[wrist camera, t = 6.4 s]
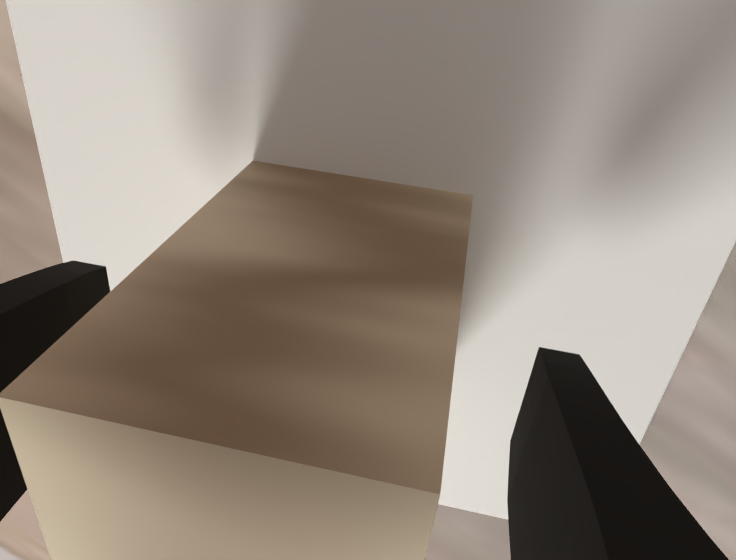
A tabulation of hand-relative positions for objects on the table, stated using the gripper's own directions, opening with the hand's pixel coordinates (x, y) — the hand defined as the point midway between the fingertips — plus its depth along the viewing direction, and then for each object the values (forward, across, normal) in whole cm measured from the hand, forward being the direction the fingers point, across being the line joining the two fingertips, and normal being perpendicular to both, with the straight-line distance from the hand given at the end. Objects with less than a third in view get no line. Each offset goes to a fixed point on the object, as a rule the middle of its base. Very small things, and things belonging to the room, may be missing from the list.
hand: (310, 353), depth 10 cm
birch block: (+3, 0, 0) cm, 3 cm away
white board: (+4, 0, 0) cm, 4 cm away
